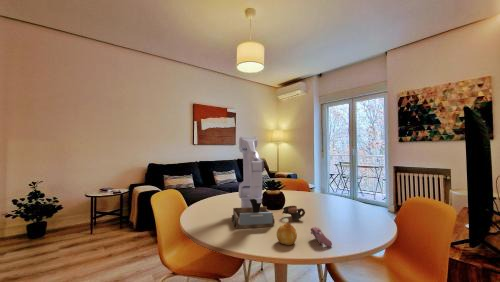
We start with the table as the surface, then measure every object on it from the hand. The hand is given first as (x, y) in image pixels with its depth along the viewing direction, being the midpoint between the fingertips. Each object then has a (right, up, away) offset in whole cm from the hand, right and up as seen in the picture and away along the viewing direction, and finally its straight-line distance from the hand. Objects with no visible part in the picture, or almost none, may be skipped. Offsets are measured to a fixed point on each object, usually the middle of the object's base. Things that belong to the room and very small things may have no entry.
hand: (256, 214), depth 109 cm
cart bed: (-2, -7, +8) cm, 10 cm away
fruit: (+12, -6, -16) cm, 21 cm away
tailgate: (0, -4, +1) cm, 4 cm away
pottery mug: (+20, -7, +14) cm, 26 cm away
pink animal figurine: (+26, -6, -16) cm, 31 cm away
